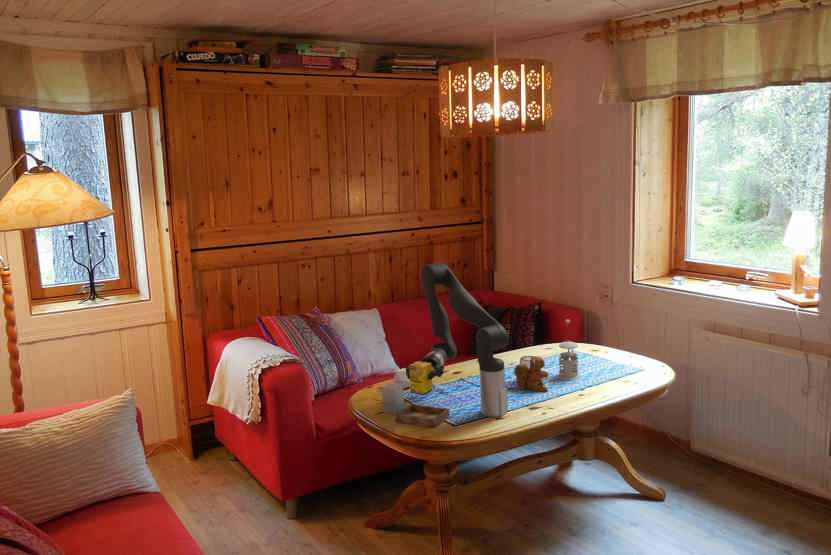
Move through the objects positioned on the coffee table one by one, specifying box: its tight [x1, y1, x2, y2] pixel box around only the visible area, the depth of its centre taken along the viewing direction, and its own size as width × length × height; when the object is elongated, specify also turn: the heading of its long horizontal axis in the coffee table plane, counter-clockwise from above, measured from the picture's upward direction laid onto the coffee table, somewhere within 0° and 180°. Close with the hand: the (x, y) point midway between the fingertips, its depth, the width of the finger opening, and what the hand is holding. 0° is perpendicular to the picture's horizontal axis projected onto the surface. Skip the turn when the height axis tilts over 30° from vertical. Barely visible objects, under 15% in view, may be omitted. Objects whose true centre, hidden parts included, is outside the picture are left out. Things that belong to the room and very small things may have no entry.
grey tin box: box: [381, 382, 405, 415], centre depth 272 cm, size 6×6×10 cm
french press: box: [557, 319, 581, 381], centre depth 301 cm, size 10×12×25 cm
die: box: [392, 367, 411, 390], centre depth 299 cm, size 8×9×10 cm
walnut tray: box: [395, 403, 450, 429], centre depth 262 cm, size 16×12×3 cm
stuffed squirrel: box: [513, 356, 549, 393], centre depth 289 cm, size 10×14×13 cm
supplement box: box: [408, 360, 433, 396], centre depth 259 cm, size 6×6×11 cm
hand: (419, 377), depth 257 cm, fingers closed on supplement box, 7 cm apart
